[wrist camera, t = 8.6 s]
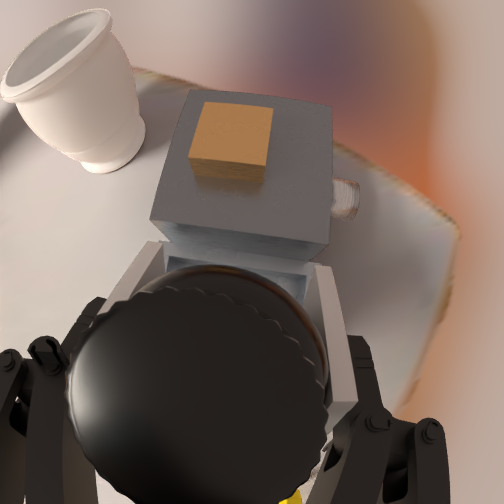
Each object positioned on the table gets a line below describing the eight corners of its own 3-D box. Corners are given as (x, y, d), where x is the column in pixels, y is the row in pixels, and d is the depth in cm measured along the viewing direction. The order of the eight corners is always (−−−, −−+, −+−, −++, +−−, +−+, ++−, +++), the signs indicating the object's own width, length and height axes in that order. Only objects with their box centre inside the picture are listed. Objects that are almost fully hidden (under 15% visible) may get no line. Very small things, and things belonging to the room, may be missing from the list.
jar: (172, 144, 26) (128, 24, 11) (90, 203, 25) (-5, 122, 10) (133, 93, 28) (94, -2, 13) (65, 142, 26) (-1, 65, 12)
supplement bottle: (257, 269, 16) (288, 159, 5) (307, 372, 15) (428, 468, 3) (151, 317, 16) (-8, 309, 4) (201, 418, 14) (140, 563, 3)
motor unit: (153, 375, 21) (91, 414, 11) (194, 152, 26) (172, 70, 15) (314, 398, 21) (363, 452, 11) (337, 172, 26) (381, 99, 15)
